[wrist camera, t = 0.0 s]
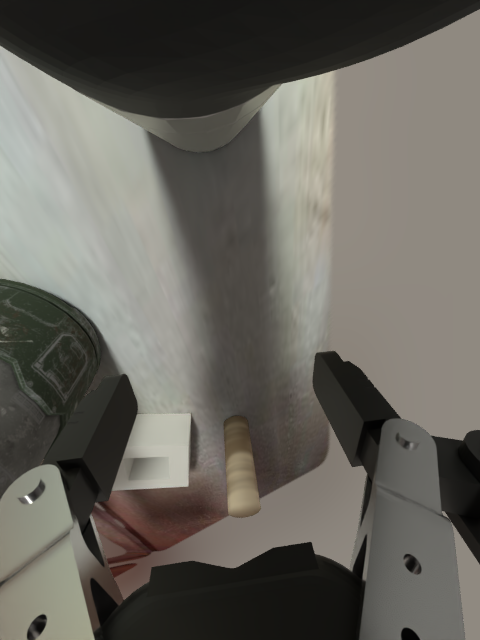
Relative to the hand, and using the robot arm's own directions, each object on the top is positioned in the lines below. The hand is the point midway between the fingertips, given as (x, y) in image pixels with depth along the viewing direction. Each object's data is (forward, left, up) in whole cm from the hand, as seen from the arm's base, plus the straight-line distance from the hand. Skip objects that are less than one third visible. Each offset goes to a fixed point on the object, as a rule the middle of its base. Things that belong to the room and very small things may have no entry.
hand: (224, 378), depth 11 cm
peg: (+28, 0, -17) cm, 33 cm away
